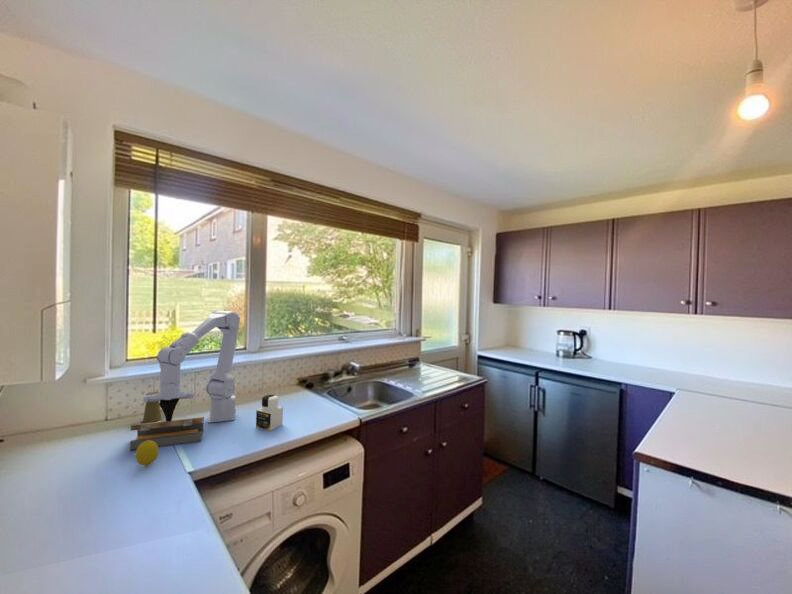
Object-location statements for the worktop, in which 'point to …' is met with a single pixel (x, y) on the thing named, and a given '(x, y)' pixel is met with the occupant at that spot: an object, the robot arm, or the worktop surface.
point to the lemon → (147, 452)
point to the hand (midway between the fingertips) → (169, 420)
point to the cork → (152, 411)
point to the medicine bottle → (269, 413)
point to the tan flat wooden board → (166, 423)
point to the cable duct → (169, 435)
